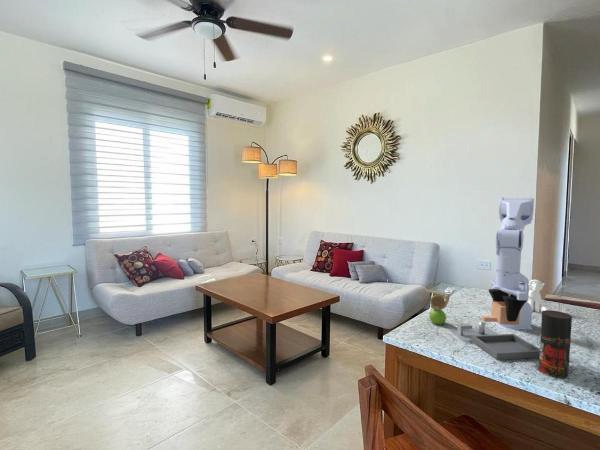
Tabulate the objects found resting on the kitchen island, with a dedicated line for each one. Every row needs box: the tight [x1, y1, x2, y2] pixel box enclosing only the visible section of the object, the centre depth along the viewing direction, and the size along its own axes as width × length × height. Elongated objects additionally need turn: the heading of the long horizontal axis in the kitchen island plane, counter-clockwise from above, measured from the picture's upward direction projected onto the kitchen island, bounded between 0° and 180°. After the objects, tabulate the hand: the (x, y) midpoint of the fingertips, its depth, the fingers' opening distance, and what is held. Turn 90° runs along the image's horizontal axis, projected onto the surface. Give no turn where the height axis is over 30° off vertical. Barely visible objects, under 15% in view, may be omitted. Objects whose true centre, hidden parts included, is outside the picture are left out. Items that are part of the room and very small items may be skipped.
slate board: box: [447, 326, 498, 342], centre depth 107 cm, size 14×9×1 cm, turn 95°
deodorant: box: [538, 309, 573, 379], centre depth 84 cm, size 6×6×15 cm
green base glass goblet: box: [429, 290, 451, 326], centre depth 116 cm, size 5×6×12 cm
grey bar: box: [457, 321, 486, 336], centre depth 107 cm, size 8×2×4 cm, turn 95°
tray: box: [470, 333, 540, 361], centre depth 96 cm, size 14×12×2 cm
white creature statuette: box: [527, 279, 549, 314], centre depth 131 cm, size 10×9×12 cm
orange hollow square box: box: [481, 300, 520, 325], centre depth 97 cm, size 9×5×5 cm, turn 86°
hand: (505, 317), depth 97 cm, fingers closed on orange hollow square box, 5 cm apart
